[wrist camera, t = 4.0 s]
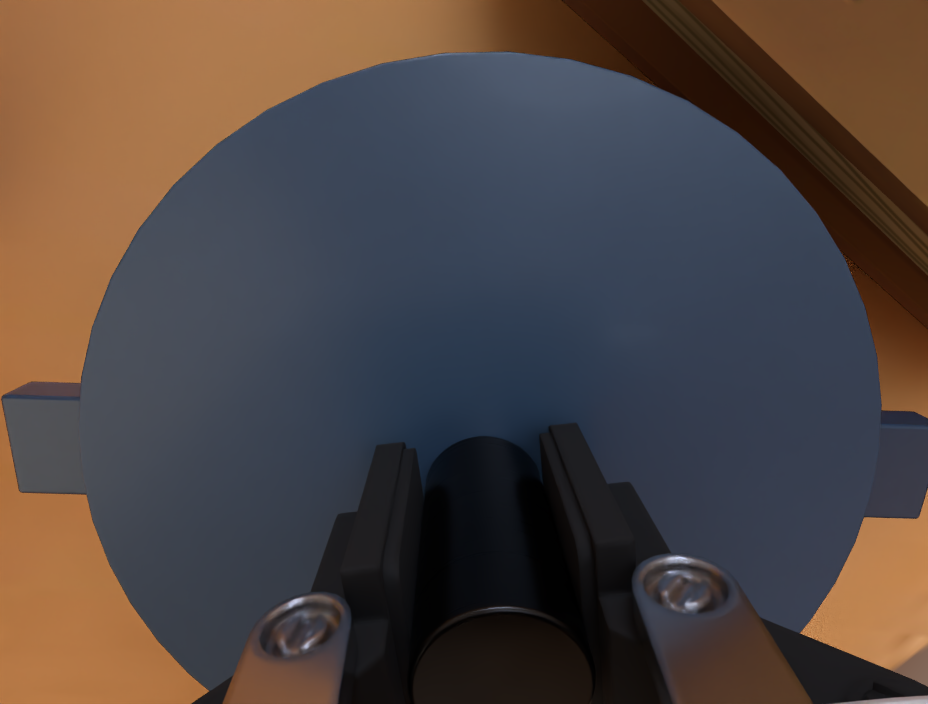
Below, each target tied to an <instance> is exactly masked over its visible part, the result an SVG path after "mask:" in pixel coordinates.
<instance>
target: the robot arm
mask: <svg viewBox="0 0 928 704" xmlns="http://www.w3.org/2000/svg"><path fill="white" fill-rule="evenodd" d="M539 442H540V454H541V466H542V477H543V487H544V490H545V494H546V497H547V501H548V504H549V508H550V511H551V514H552V518H553V521H554V525H555V528H556V532H557V535H558V539H559V542H560V546H561V549H562V553H563V556H564V560H565V563H566V566H567V570H568V573H569V577H570V580H571V584H572V587H573V591H574V594H575V598H576V601H577V605H578V608H579V612H580V615H581V618H582V622H583V625H584V629H585V632H586V636H587V639H588V643H589V646H590V650H591V653H592V657H593V660H594V664H595V670H596V686H595V690H594V695H593V699H592V702H591V704H928V687H927V686H925V685H923V684H921V683H919V682H917V681H915V680H912V679H910V678H908V677H905V676H903V675H900V674H898V673H895V672H893V671H891V670H888V669H886V668H883V667H881V666H878V665H876V664H873V663H871V662H868V661H866V660H864V659H861V658H859V657H856V656H854V655H851V654H849V653H846V652H844V651H842V650H839V649H837V648H834V647H832V646H829V645H827V644H824V643H822V642H819V641H817V640H815V639H812V638H810V637H807V636H805V635H802V634H800V633H797V632H795V631H792V630H790V629H788V628H785V627H783V626H780V625H778V624H775V623H773V622H770V621H768V620H765V619H763V618H761V617H759V615H758V614H757V612H756V610H755V609H754V607H753V606H752V604H751V602H750V601H749V599H748V598H747V596H746V594H745V593H744V591H743V589H742V588H741V586H740V585H739V583H738V581H737V580H736V579H735V578H734V577H733V576H732V575H731V573H730V572H729V571H728V570H726V569H725V568H723V567H722V566H720V565H719V564H717V563H716V562H713V561H711V560H708V559H706V558H703V557H700V556H695V555H690V554H685V553H671V551H670V550H669V548H668V546H667V544H666V543H665V541H664V539H663V537H662V536H661V534H660V532H659V530H658V529H657V527H656V525H655V524H654V522H653V520H652V518H651V517H650V515H649V513H648V511H647V510H646V508H645V506H644V504H643V503H642V501H641V499H640V497H639V496H638V494H637V492H636V491H635V489H634V487H633V485H632V484H631V483H630V482H619V483H610V484H607V482H606V480H605V478H604V476H603V474H602V472H601V470H600V468H599V466H598V464H597V462H596V460H595V458H594V456H593V454H592V452H591V450H590V448H589V446H588V444H587V442H586V440H585V438H584V436H583V434H582V432H581V430H580V428H579V426H578V424H577V423H567V424H558V425H550V426H549V433H542V434H539ZM423 507H424V496H423V490H422V483H421V477H420V470H419V463H418V457H417V452H416V448H409V449H406V445H405V442H398V443H389V444H380V445H377V446H376V448H375V452H374V455H373V459H372V462H371V466H370V469H369V473H368V476H367V479H366V483H365V486H364V490H363V493H362V497H361V500H360V504H359V507H358V511H357V512H348V513H340V514H338V515H337V517H336V519H335V522H334V525H333V528H332V531H331V534H330V537H329V540H328V542H327V545H326V548H325V551H324V554H323V557H322V560H321V563H320V566H319V568H318V571H317V574H316V577H315V580H314V583H313V586H312V589H311V592H308V593H304V594H300V595H295V596H293V597H291V598H288V599H286V600H284V601H281V602H280V603H278V604H277V605H275V606H274V607H272V608H271V609H269V610H268V611H266V612H265V613H264V614H263V615H262V616H261V617H260V618H259V619H258V620H257V621H256V623H255V625H254V627H253V628H252V630H251V632H250V633H249V636H248V639H247V641H246V644H245V646H244V649H243V652H242V654H241V657H240V659H239V662H238V665H237V667H236V670H235V672H234V675H233V676H231V677H230V678H228V679H227V680H226V681H224V682H223V683H221V684H220V685H218V686H217V687H215V688H214V689H212V690H211V691H209V692H208V693H206V694H205V695H203V696H202V697H201V698H199V699H198V700H196V701H195V702H193V703H192V704H411V702H410V698H409V694H408V685H407V678H408V668H409V657H410V646H411V636H412V625H413V614H414V603H415V593H416V582H417V571H418V560H419V550H420V539H421V528H422V517H423Z"/></svg>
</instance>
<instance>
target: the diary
mask: <svg viewBox="0 0 928 704" xmlns="http://www.w3.org/2000/svg"><path fill="white" fill-rule="evenodd" d="M562 1H563V2H564V3H566V4H567V5H568V6H569V7H570V8H571V9H572V10H573V11H574V12H576V13H577V14H578V15H579V16H580V17H581V18H582V19H583V20H584V21H586V22H587V23H588V24H589V25H590V26H591V27H592V28H593V29H595V30H596V31H597V32H598V33H599V34H600V35H601V36H602V37H603V38H605V39H606V40H607V41H608V42H609V43H610V44H611V45H612V46H613V47H615V48H616V49H617V50H618V51H619V52H620V53H621V54H622V55H623V56H625V57H626V58H627V59H628V60H629V61H630V62H631V63H632V64H634V65H635V66H636V67H637V68H638V69H639V70H640V71H641V72H642V73H644V74H645V75H646V76H647V77H648V78H649V79H650V80H651V81H652V82H654V83H655V84H656V85H657V86H658V87H659V88H660V89H662V90H665V91H667V92H669V93H671V94H674V95H676V96H678V97H681V98H683V99H685V100H687V101H689V102H690V103H692V104H694V105H695V106H697V107H698V108H700V109H701V110H703V111H705V112H706V113H708V114H709V115H711V116H712V117H714V118H716V119H717V120H719V121H720V122H722V123H723V124H725V125H727V126H728V127H730V128H731V129H733V130H735V131H736V132H738V133H739V134H740V135H741V136H742V137H743V138H744V139H746V140H747V141H748V142H749V143H750V144H751V145H752V146H754V147H755V148H756V149H757V150H758V151H759V152H760V153H762V154H763V155H764V156H765V157H766V158H767V159H769V160H770V161H771V162H772V163H773V164H774V165H775V166H777V167H778V168H779V169H780V170H781V171H782V172H783V174H784V175H785V176H786V177H787V178H788V179H789V181H790V182H791V183H792V184H793V185H794V187H795V188H796V189H797V190H798V191H799V192H800V194H801V195H802V196H803V197H804V198H805V200H806V201H807V202H808V203H809V204H810V205H811V207H812V208H813V209H814V210H815V211H816V213H817V214H818V216H819V217H820V219H821V221H822V222H823V224H824V226H825V227H826V229H827V231H828V232H829V234H830V235H831V237H832V239H833V240H834V242H835V244H836V245H837V247H838V248H839V249H840V250H841V251H842V252H843V253H844V254H845V255H846V256H847V257H849V258H850V259H851V260H852V261H853V262H854V263H855V264H856V265H857V266H859V267H860V268H861V269H862V270H863V271H864V272H865V273H866V274H867V275H869V276H870V277H871V278H872V279H873V280H874V281H875V282H876V283H878V284H879V285H880V286H881V287H882V288H883V289H884V290H885V291H886V292H888V293H889V294H890V295H891V296H892V297H893V298H894V299H895V300H896V301H898V302H899V303H900V304H901V305H902V306H903V307H904V308H905V309H906V310H908V311H909V312H910V313H911V314H912V315H913V316H914V317H915V318H917V319H918V320H919V321H920V322H921V323H922V324H923V325H924V326H925V327H927V328H928V0H562Z"/></svg>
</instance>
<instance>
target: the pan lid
mask: <svg viewBox="0 0 928 704" xmlns="http://www.w3.org/2000/svg"><path fill="white" fill-rule="evenodd" d="M881 407H882V404H881V393H880V382H879V372H878V361H877V354H876V350H875V346H874V342H873V338H872V334H871V330H870V326H869V322H868V317H867V313H866V309H865V306H864V304H863V301H862V299H861V296H860V294H859V292H858V289H857V287H856V284H855V282H854V280H853V277H852V275H851V272H850V270H849V268H848V265H847V263H846V260H845V258H844V257H843V255H842V253H841V252H840V250H839V249H838V247H837V245H836V244H835V242H834V240H833V239H832V237H831V235H830V234H829V232H828V231H827V229H826V227H825V226H824V224H823V222H822V221H821V219H820V217H819V216H818V214H817V213H816V211H815V210H814V209H813V208H812V207H811V205H810V204H809V203H808V202H807V201H806V200H805V198H804V197H803V196H802V195H801V194H800V192H799V191H798V190H797V189H796V188H795V187H794V185H793V184H792V183H791V182H790V181H789V179H788V178H787V177H786V176H785V175H784V174H783V172H782V171H781V170H780V169H779V168H778V167H777V166H775V165H774V164H773V163H772V162H771V161H770V160H769V159H767V158H766V157H765V156H764V155H763V154H762V153H760V152H759V151H758V150H757V149H756V148H755V147H754V146H752V145H751V144H750V143H749V142H748V141H747V140H746V139H744V138H743V137H742V136H741V135H740V134H739V133H738V132H736V131H735V130H733V129H731V128H730V127H728V126H727V125H725V124H723V123H722V122H720V121H719V120H717V119H716V118H714V117H712V116H711V115H709V114H708V113H706V112H705V111H703V110H701V109H700V108H698V107H697V106H695V105H694V104H692V103H690V102H689V101H687V100H685V99H683V98H681V97H678V96H676V95H674V94H671V93H669V92H667V91H665V90H662V89H660V88H658V87H656V86H653V85H651V84H649V83H647V82H644V81H642V80H640V79H638V78H635V77H633V76H630V75H627V74H623V73H620V72H616V71H612V70H609V69H605V68H601V67H598V66H594V65H590V64H587V63H583V62H580V61H576V60H572V59H566V58H557V57H549V56H541V55H533V54H525V53H517V52H509V51H506V52H461V53H441V54H435V55H429V56H423V57H417V58H411V59H405V60H399V61H393V62H387V63H382V64H379V65H376V66H372V67H369V68H366V69H363V70H360V71H357V72H354V73H351V74H348V75H344V76H341V77H338V78H335V79H332V80H329V81H326V82H323V83H320V84H318V85H316V86H314V87H312V88H310V89H308V90H306V91H304V92H302V93H300V94H298V95H296V96H294V97H292V98H290V99H288V100H286V101H284V102H282V103H280V104H278V105H276V106H274V107H272V108H270V109H268V110H266V111H264V112H263V113H261V114H260V115H259V116H257V117H256V118H254V119H253V120H251V121H250V122H248V123H247V124H246V125H244V126H243V127H241V128H240V129H238V130H237V131H235V132H234V133H232V134H231V135H230V136H228V137H227V138H225V139H224V140H222V141H221V142H219V143H218V144H217V145H216V146H214V147H213V148H212V149H211V150H210V151H209V152H208V153H207V154H206V155H205V156H204V157H203V158H202V159H201V160H199V161H198V162H197V163H196V164H195V165H194V166H193V167H192V168H191V169H190V170H189V171H188V172H187V173H186V174H185V175H183V176H182V177H181V178H180V179H179V180H178V181H177V182H176V183H175V184H174V185H173V186H172V187H171V189H170V190H169V191H168V193H167V194H166V195H165V196H164V198H163V199H162V200H161V201H160V203H159V204H158V205H157V206H156V208H155V209H154V210H153V212H152V213H151V214H150V215H149V217H148V218H147V219H146V220H145V222H144V223H143V224H142V225H141V227H140V228H139V229H138V231H137V233H136V235H135V236H134V238H133V240H132V242H131V243H130V245H129V247H128V249H127V250H126V252H125V254H124V256H123V257H122V259H121V261H120V263H119V264H118V266H117V268H116V270H115V272H114V273H113V275H112V277H111V279H110V282H109V285H108V287H107V290H106V292H105V295H104V298H103V300H102V303H101V305H100V308H99V311H98V313H97V316H96V319H95V321H94V324H93V326H92V330H91V335H90V340H89V344H88V349H87V353H86V358H85V363H84V367H83V372H82V376H81V390H80V405H79V421H78V431H79V443H80V455H81V467H82V477H83V481H84V485H85V490H86V494H87V498H88V503H89V507H90V511H91V516H92V520H93V523H94V526H95V528H96V531H97V533H98V536H99V539H100V541H101V544H102V546H103V549H104V552H105V554H106V557H107V559H108V562H109V565H110V566H111V568H112V570H113V572H114V574H115V576H116V577H117V579H118V581H119V583H120V585H121V587H122V588H123V590H124V592H125V594H126V596H127V597H128V599H129V601H130V603H131V605H132V606H133V607H134V609H135V610H136V612H137V613H138V614H139V616H140V617H141V618H142V620H143V621H144V623H145V624H146V625H147V627H148V628H149V629H150V631H151V632H152V634H153V635H154V636H155V638H156V639H157V640H158V642H159V643H160V644H161V645H162V646H163V647H164V648H165V649H166V650H167V651H168V652H169V653H170V654H171V655H172V657H173V658H174V659H175V660H176V661H177V662H178V663H179V664H180V665H181V666H182V667H183V668H184V669H185V670H186V671H187V672H188V674H190V675H191V676H192V677H193V678H194V679H196V680H197V681H198V682H199V683H200V684H202V685H203V686H204V687H205V688H206V689H208V690H209V691H211V690H212V689H214V688H215V687H217V686H218V685H220V684H221V683H223V682H224V681H226V680H227V679H228V678H230V677H231V676H233V675H234V672H235V670H236V667H237V665H238V662H239V659H240V657H241V654H242V652H243V649H244V646H245V644H246V641H247V639H248V636H249V633H250V632H251V630H252V628H253V627H254V625H255V623H256V621H257V620H258V619H259V618H260V617H261V616H262V615H263V614H264V613H265V612H266V611H268V610H269V609H271V608H272V607H274V606H275V605H277V604H278V603H280V602H281V601H284V600H286V599H288V598H291V597H293V596H295V595H300V594H304V593H308V592H311V589H312V586H313V583H314V580H315V577H316V574H317V571H318V568H319V566H320V563H321V560H322V557H323V554H324V551H325V548H326V545H327V542H328V540H329V537H330V534H331V531H332V528H333V525H334V522H335V519H336V517H337V515H338V514H340V513H348V512H357V511H358V507H359V504H360V500H361V497H362V493H363V490H364V486H365V483H366V479H367V476H368V473H369V469H370V466H371V462H372V459H373V455H374V452H375V448H376V446H377V445H380V444H389V443H398V442H405V445H406V449H409V448H416V452H417V457H418V463H419V470H420V477H421V483H422V490H423V496H424V507H423V517H422V528H421V539H420V550H419V560H418V571H417V582H416V593H415V603H414V614H413V625H412V636H411V646H410V657H409V668H408V678H407V685H408V694H409V698H410V702H411V704H591V702H592V699H593V695H594V690H595V686H596V670H595V664H594V660H593V657H592V653H591V650H590V646H589V643H588V639H587V636H586V632H585V629H584V625H583V622H582V618H581V615H580V612H579V608H578V605H577V601H576V598H575V594H574V591H573V587H572V584H571V580H570V577H569V573H568V570H567V566H566V563H565V560H564V556H563V553H562V549H561V546H560V542H559V539H558V535H557V532H556V528H555V525H554V521H553V518H552V514H551V511H550V508H549V504H548V501H547V497H546V494H545V490H544V487H543V477H542V466H541V454H540V442H539V434H542V433H549V426H550V425H558V424H567V423H577V424H578V426H579V428H580V430H581V432H582V434H583V436H584V438H585V440H586V442H587V444H588V446H589V448H590V450H591V452H592V454H593V456H594V458H595V460H596V462H597V464H598V466H599V468H600V470H601V472H602V474H603V476H604V478H605V480H606V482H607V484H610V483H619V482H630V483H631V484H632V485H633V487H634V489H635V491H636V492H637V494H638V496H639V497H640V499H641V501H642V503H643V504H644V506H645V508H646V510H647V511H648V513H649V515H650V517H651V518H652V520H653V522H654V524H655V525H656V527H657V529H658V530H659V532H660V534H661V536H662V537H663V539H664V541H665V543H666V544H667V546H668V548H669V550H670V551H671V553H685V554H690V555H695V556H700V557H703V558H706V559H708V560H711V561H713V562H716V563H717V564H719V565H720V566H722V567H723V568H725V569H726V570H728V571H729V572H730V573H731V575H732V576H733V577H734V578H735V579H736V580H737V581H738V583H739V585H740V586H741V588H742V589H743V591H744V593H745V594H746V596H747V598H748V599H749V601H750V602H751V604H752V606H753V607H754V609H755V610H756V612H757V614H758V615H759V617H761V618H763V619H765V620H768V621H770V622H773V623H775V624H778V625H780V626H783V627H785V628H788V629H790V630H792V631H795V632H797V633H800V632H801V631H802V630H803V629H804V627H805V626H806V625H807V624H808V623H809V621H810V620H811V619H812V617H813V616H814V614H815V613H816V611H817V610H818V608H819V607H820V605H821V604H822V602H823V601H824V599H825V598H826V596H827V594H828V593H829V591H830V590H831V588H832V587H833V585H834V584H835V582H836V580H837V578H838V576H839V574H840V572H841V570H842V568H843V566H844V564H845V562H846V560H847V558H848V556H849V554H850V552H851V550H852V548H853V546H854V544H855V541H856V538H857V536H858V533H859V530H860V527H861V524H862V521H863V518H864V515H865V512H866V509H867V506H868V503H869V500H870V497H871V492H872V486H873V481H874V476H875V471H876V466H877V461H878V456H879V445H880V426H881Z"/></svg>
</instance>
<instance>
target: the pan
mask: <svg viewBox="0 0 928 704" xmlns="http://www.w3.org/2000/svg"><path fill="white" fill-rule="evenodd" d="M80 390H81V383H58V382H29V383H27V384H25V385H23V386H21V387H19V388H17V389H15V390H13V391H11V392H8V393H6V394H4V395H3V396H2V398H1V400H2V405H3V410H4V415H5V420H6V426H7V431H8V436H9V441H10V446H11V451H12V457H13V462H14V467H15V472H16V477H17V482H18V488H19V491H20V492H22V493H51V494H85V495H87V494H86V490H85V485H84V481H83V477H82V467H81V455H80V443H79V431H78V421H79V405H80ZM927 488H928V418H926V417H924V416H922V415H920V414H918V413H916V412H911V411H882V410H881V426H880V445H879V456H878V461H877V466H876V471H875V476H874V481H873V486H872V492H871V497H870V500H869V503H868V506H867V509H866V512H865V515H864V517H876V518H911V519H916V518H918V517H919V515H920V512H921V509H922V505H923V502H924V499H925V495H926V492H927Z"/></svg>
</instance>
